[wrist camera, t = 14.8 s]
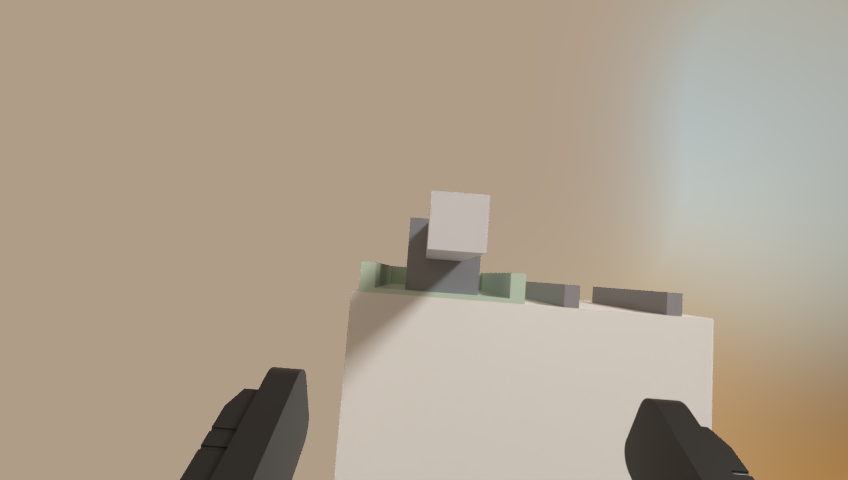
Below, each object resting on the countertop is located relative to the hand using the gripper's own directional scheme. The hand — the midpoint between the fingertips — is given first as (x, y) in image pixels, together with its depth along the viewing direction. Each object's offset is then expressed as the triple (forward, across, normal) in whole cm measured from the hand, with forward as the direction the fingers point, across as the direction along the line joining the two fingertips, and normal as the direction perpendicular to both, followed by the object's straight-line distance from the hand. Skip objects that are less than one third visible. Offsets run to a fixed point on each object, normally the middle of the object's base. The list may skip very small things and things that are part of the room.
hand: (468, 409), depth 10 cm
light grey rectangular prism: (+16, 0, +7) cm, 18 cm away
